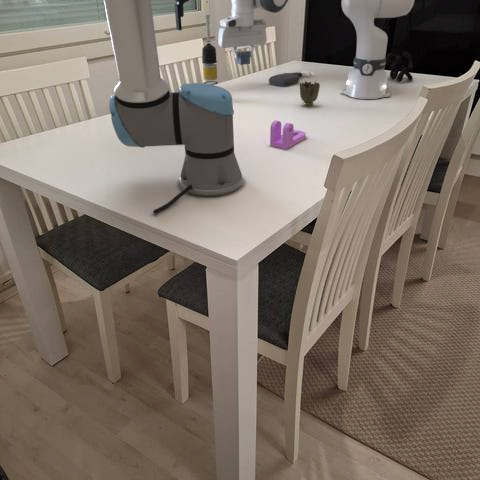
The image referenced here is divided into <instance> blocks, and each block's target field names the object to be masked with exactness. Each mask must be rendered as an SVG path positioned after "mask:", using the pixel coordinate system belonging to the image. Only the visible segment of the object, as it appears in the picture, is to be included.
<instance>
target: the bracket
mask: <svg viewBox="0 0 480 480" xmlns="http://www.w3.org/2000/svg"><path fill="white" fill-rule="evenodd" d="M294 128H295V126H294V124H293V123H290V122H286V123H284V125H283V127H282V122H281V121H280V120H275V119H274V120H273V121H272V122H271V124H270V130H269V131H270V135H269V137H270V138H269V146H271V147H274V148H275V147H276V148H280V149H284V150H287V149H289V148H291V147H293V146H295V145H296V144H299V143H300V142H302V141H304V140H305V139H306V132H305V131H303V130H299V129H298V130H297V129H294Z"/></svg>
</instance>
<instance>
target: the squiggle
mask: <svg viewBox="0 0 480 480" xmlns="http://www.w3.org/2000/svg"><path fill="white" fill-rule="evenodd" d="M401 57H402V59H401ZM385 58H386V64H387V67H390V68H391V70H390V72H389V78H390V79H391V80H395V79H396V81H397V82H399V83H400V82H402V81H403V79H404V76H406V78H407V80H408V81H412V80H413V79H414V77H413V75H412V74H411V73H410V72H409V71H410V70H412V69H413V68H414V64H413V61H412V57H411V54H410V53H409V52H408V51H403V53H402V54H401V55H396V54H394V53H392V52H390V53H387V55H386V56H385ZM391 59H392V60H391ZM393 60H394V61H393ZM406 62H407V65H408V66H407V67H405V66H404V65H405V64H406ZM400 70H401V71H400Z"/></svg>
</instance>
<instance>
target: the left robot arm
mask: <svg viewBox="0 0 480 480" xmlns="http://www.w3.org/2000/svg"><path fill="white" fill-rule="evenodd" d="M174 1H175V2H176V3H175V4H174V15H175V27H176V30H177V31H183V29H182V27H183V25H182V18H183V17H184V15H185V13H184V4H185V3H187V2H189V1H190V0H174ZM103 4H104V8H105V14H106V19H107V25H108V29H109V33H110V39H111V45H112V49H113V53H114V59H115V64H116V69H117V75H118V79H119V82H118V83H117V85H116V86H115V87H114V94H111V96H110V98H109V113H110V119H111V123H112V124H111V125H112V126H113V129H114V132H115V134H116V137H117V139H118V140H119V142H120V143H121V144H122V145H124V146H125V147H128V148H135V147H136V148H143V149H144V148H146V147H167V146H168V147H169V146H170V147H171V146H184V154H185V155H184V158H183V164H182V168H181V171H180V176H179V183H180V184H179V185H180V188H181V189H182V190H181V191H180V192H179V193H177V194H176V196H174V197H173V198H172V199H171V200H169V201H167V203H165V204H163V205H161V206H159V207H157V208H155V209H154V210H152V212H153V214H154V215H158V214H159V213H160V212H163V211H164V210H166V209H168V208H170V207H171V206H172V205H173V204H175V203H176V202H177V201H178V200H180V199H181V198H182V197H183V196H184V195H186V194H190V195H194V196H199V197H221V196H224V195H229V194H232V193H234V192H235V191H237V190H239V189H240V188H241V187H242V185H243V174H242V171H241V168H240V165H239V163H238V160H237V157H236V154H235V138H234V136H235V135H234V114H235V110H234V106H233V105H234V104H233V96H232V94H231V92H230V91H229V90H227V89H226V88H224V87H221V86H220V85H216V84H214V85H211V84H212V83H206V84H204V82H203V83H201V82H191V83H184V84H182V85H180V86H179V89H178V91H176V92H175V91H173V92H170V85H169V83H168V82H167V80H165V79H163V78H162V77H161V71H160V70H161V69H160V62H159V54H158V46H157V38H156V31H155V24H154V23H155V22H154V15H153V7H152V0H103Z"/></svg>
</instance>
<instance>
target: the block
mask: <svg viewBox="0 0 480 480" xmlns="http://www.w3.org/2000/svg"><path fill="white" fill-rule="evenodd" d="M236 52H237V53H238V54H239V59H236V60H235V61H236V64H237V65H239V66H243V65H251V57H250V51H249V50H247V49H239V50H238V49H237V50H236Z"/></svg>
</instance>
